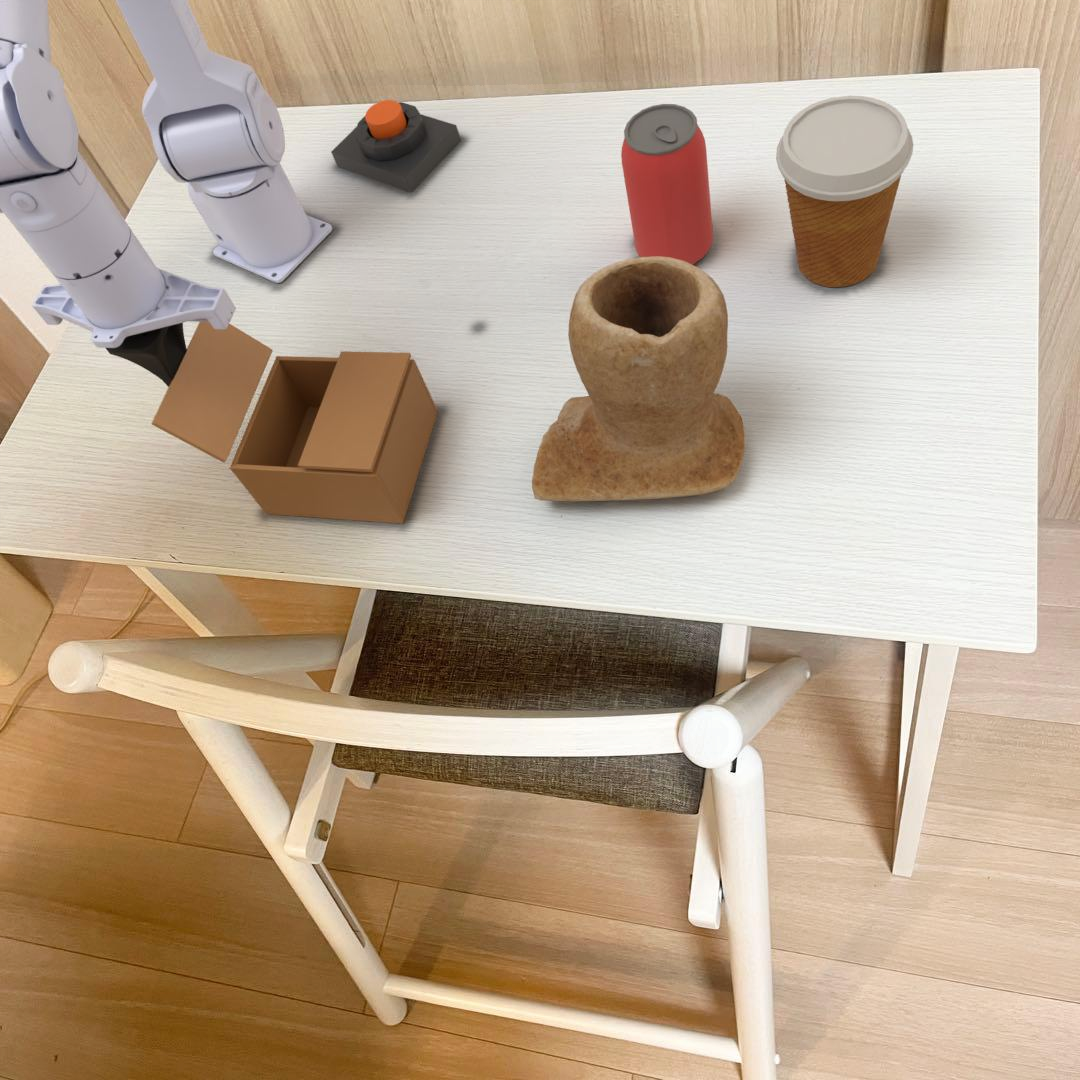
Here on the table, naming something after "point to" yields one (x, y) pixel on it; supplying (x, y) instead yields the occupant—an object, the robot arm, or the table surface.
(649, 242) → the beer can
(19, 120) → the robot arm
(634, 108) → the table surface
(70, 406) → the table surface
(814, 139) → the disposable coffee cup
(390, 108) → the button
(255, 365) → the flap
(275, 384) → the carton
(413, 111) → the button box
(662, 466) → the stone cup
